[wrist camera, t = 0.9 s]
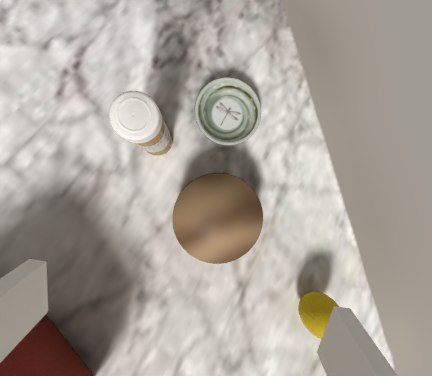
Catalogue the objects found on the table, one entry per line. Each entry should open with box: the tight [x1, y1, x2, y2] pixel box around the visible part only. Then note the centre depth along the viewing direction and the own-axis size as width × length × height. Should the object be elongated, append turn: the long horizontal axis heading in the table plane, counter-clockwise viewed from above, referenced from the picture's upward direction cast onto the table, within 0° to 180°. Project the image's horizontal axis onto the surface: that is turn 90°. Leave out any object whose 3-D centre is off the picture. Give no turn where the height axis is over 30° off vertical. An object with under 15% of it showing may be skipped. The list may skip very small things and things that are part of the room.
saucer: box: [195, 77, 261, 146], centre depth 34 cm, size 10×10×2 cm
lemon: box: [299, 292, 339, 339], centre depth 33 cm, size 6×6×8 cm
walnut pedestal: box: [173, 173, 263, 264], centre depth 33 cm, size 12×12×5 cm
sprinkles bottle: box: [109, 91, 172, 155], centre depth 27 cm, size 5×5×14 cm
